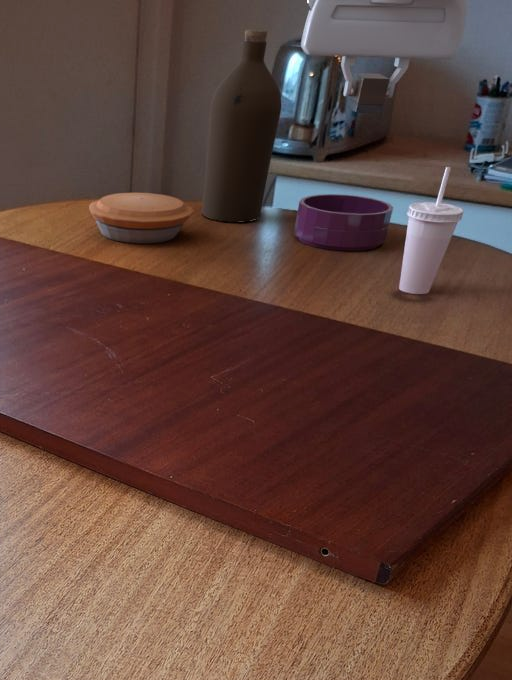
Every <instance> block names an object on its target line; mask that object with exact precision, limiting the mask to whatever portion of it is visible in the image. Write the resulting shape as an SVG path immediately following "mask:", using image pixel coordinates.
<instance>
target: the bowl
mask: <svg viewBox="0 0 512 680" xmlns="http://www.w3.org/2000/svg"><path fill="white" fill-rule="evenodd" d="M298 202H299V203H298V207H297V212H296V218H295V224H294V229H293V230H294V231H293V234H294V235H295V237H297V239H298V240H299V242H301V243H303V244H305V245H308V246H311V247H315V248H318V249H324V250H331V251H332V250H333V251H340V252H342V251H343V252H358V251H361V252H362V251H368V250H373V249H376V248H378V247H379V246H380V245H382V244H384V243H385V241H386V239H387V236H388V233H389V227H390V223H391V219H392V215H393V211H394V206H393V205H391V203H389V202H386V201H384V200H381V199H377V198H373V197H367V196H361V195H353V194H337V193H336V194H335V193H328V194H322V193H321V194H314V195H308V196H305V197H301V198H300V200H299V201H298Z"/></svg>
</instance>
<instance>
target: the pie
mask: <svg viewBox="0 0 512 680" xmlns="http://www.w3.org/2000/svg"><path fill="white" fill-rule="evenodd" d="M88 209H89V212H90V214H91V216H92V217H93V218H94V220H95V223H96V225H97V227H98V229H99V231H100V233H101V234H102V236H104V237H105V238H107V239H110V240H113V241H116V242H120V243H128V244H139V245H140V244H141V245H142V244H146V245H147V244H161V243H165V242H169V241H171V240H173V239H175V238H176V236H177V235H178V233H179V232H180V230H181V229H182V227H183V226H184V224H185V223H186V222H187V221H188V219H189V218H190V217H191V216H192V215H193V214H194V209H193V207H192V206H189V205H187V204H184V202H183V201H182V200H181V199H179V198H178V197H174V196H171V195H167V194H166V195H165V194H160V193H153V192H120V193H119V192H118V193H113V194H108V195H105V196H102V197H101V198H99V199H98V200H95V201H92V202H91V203H90V204H89V205H88Z"/></svg>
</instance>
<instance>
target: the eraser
mask: <svg viewBox="0 0 512 680" xmlns="http://www.w3.org/2000/svg"><path fill="white" fill-rule="evenodd" d="M352 78H353V80H357V81H358V82H359V84H358V88H357V93H356V96H355V97H350V96H348V102H347V107H348V108H349V109H351V111H353V112H354V113H356V114H358V113H359V114H378V115H379V114H382V113H383V109H384V106H385V101H386V99H387V98H386V93H387V89H388V85H389V80H390V77H387V76H385V75H383V74H382V73H368V72H367V73H366V72H365V73H364V72H354V74H353V77H352Z"/></svg>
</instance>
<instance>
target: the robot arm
mask: <svg viewBox="0 0 512 680" xmlns="http://www.w3.org/2000/svg"><path fill="white" fill-rule="evenodd" d="M307 7H308V9H309V10H308V14H307V17H306V20H305V24H304V27H303V32H302V35H301V36H302V37H301V40H300V47H301V49H302V51H303V53H304V54H305V55H308V56H322V57H323V56H325V57H326V56H327V57H328V56H329V57H341V60H340V61H341V62H340V67H341V71H342V74H343V77H344V80H345V83H344V87H343V96H344V97H355V96H356V93H357V88H358V84H359V82H358V81H357V80H353V78H354V77H353V74H352V71H351V67H354V66H355V63H356V60H357V57H359V58H360V57H361V58H387V59H388V58H390V59H391V58H393V59H394V63H393V66H394V67H395V68H396V69H395V70H394V71H393V73H392V74H391V76H390V77H389V79H390V80H389V85H388V89H387V93H386V98H385V99H392V98H393V95H394V92H395V89H396V88H395V87H396V84H397V83H398V82H399V80H400V79H401V78H402V77H403V75H404V74H405V73H406V72H407V70H408V69H409V64H410V61H411V59H419V60H420V59H423V60H451V59H452V58H453V57H454V56H456V54H457V53H458V52H459V50H460V47H461V43H462V40H463V37H464V31H465V26H466V19H467V11H468V0H307Z"/></svg>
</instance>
